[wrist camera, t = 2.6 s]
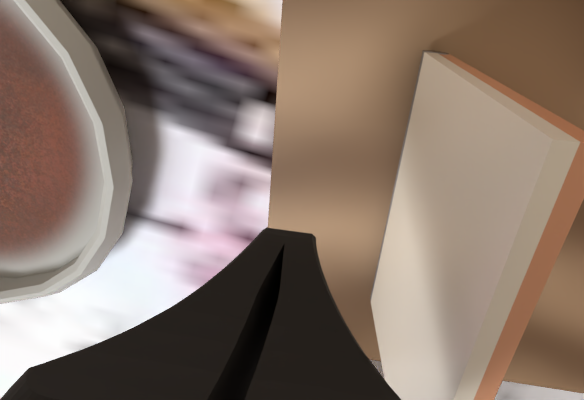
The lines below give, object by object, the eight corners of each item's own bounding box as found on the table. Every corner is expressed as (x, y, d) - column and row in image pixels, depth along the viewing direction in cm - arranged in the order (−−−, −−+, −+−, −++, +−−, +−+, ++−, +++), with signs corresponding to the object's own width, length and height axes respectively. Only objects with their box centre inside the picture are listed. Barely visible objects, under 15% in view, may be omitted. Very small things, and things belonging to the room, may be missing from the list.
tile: (368, 292, 18) (387, 294, 18) (408, 515, 11) (440, 518, 11) (420, 49, 14) (444, 51, 14) (553, 138, 6) (608, 143, 6)
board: (593, 375, 21) (606, 396, 20) (264, 324, 22) (260, 342, 21) (849, -62, 12) (896, -67, 11) (295, -106, 14) (290, -114, 12)
